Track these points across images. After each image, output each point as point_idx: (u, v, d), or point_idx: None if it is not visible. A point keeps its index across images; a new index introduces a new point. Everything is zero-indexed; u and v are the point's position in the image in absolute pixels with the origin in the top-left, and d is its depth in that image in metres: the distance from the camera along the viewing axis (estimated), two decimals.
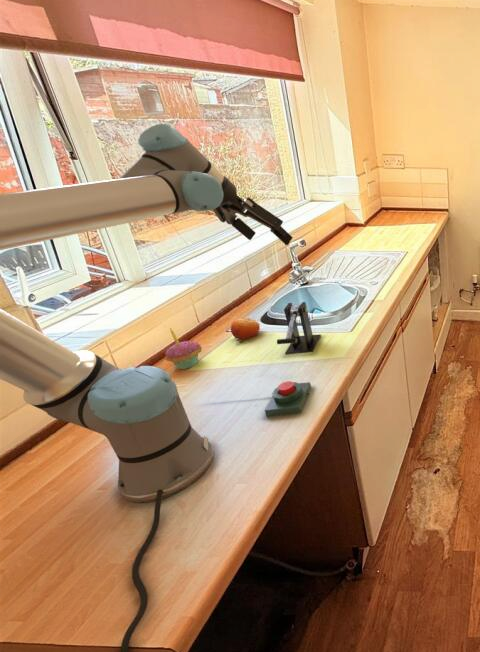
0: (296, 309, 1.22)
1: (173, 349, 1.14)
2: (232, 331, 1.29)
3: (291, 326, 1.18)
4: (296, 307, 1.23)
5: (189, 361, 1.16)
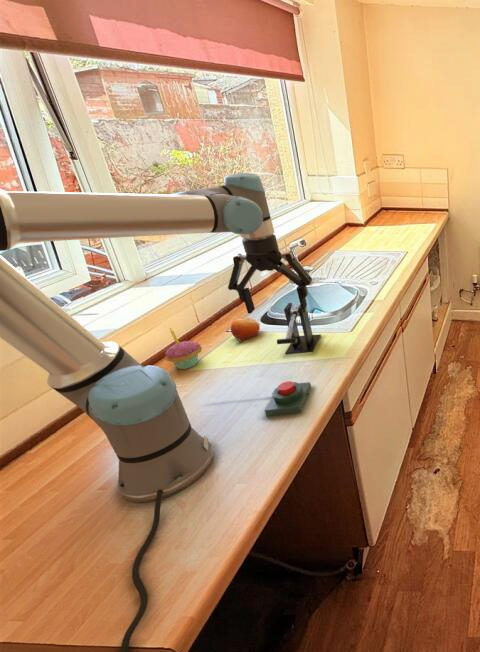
0: (296, 309, 1.22)
1: (173, 349, 1.14)
2: (232, 331, 1.29)
3: (291, 326, 1.18)
4: (296, 307, 1.23)
5: (189, 361, 1.16)
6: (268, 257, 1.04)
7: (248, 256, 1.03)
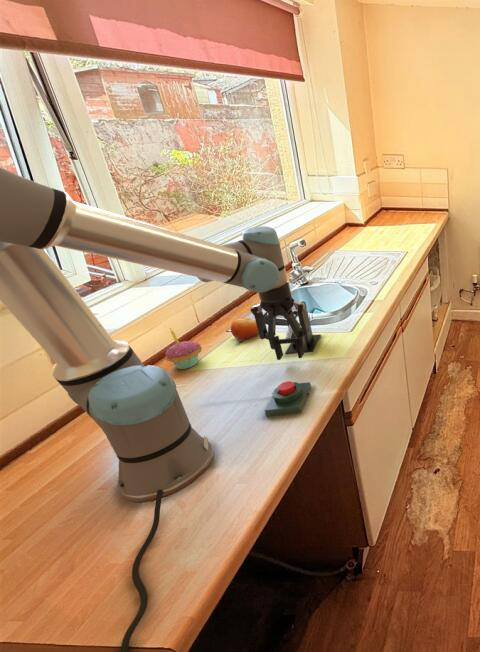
0: None
1: (173, 349, 1.14)
2: (232, 331, 1.29)
3: None
4: None
5: (189, 361, 1.16)
6: (281, 303, 1.09)
7: (262, 303, 1.08)
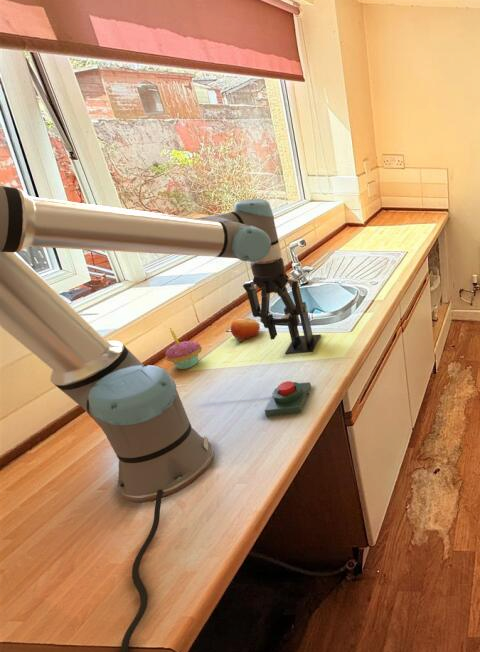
0: None
1: (173, 349, 1.14)
2: (232, 331, 1.29)
3: (288, 314, 1.17)
4: None
5: (189, 361, 1.16)
6: (275, 280, 1.06)
7: (256, 279, 1.05)
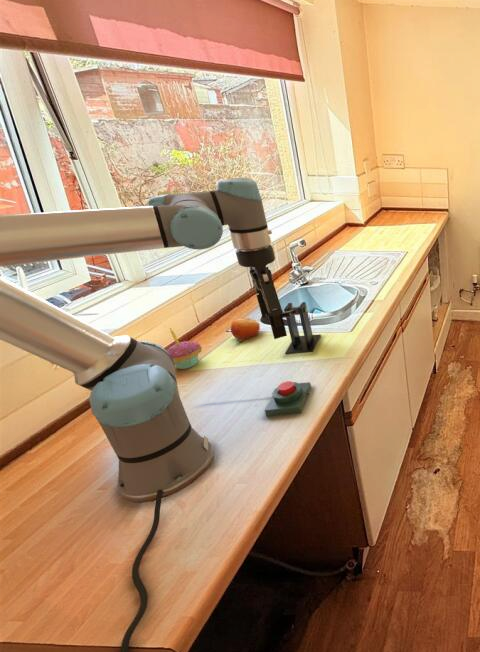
0: (297, 306, 1.23)
1: (173, 349, 1.14)
2: (232, 331, 1.29)
3: (288, 311, 1.17)
4: (297, 306, 1.24)
5: (189, 361, 1.16)
6: (255, 271, 0.94)
7: None
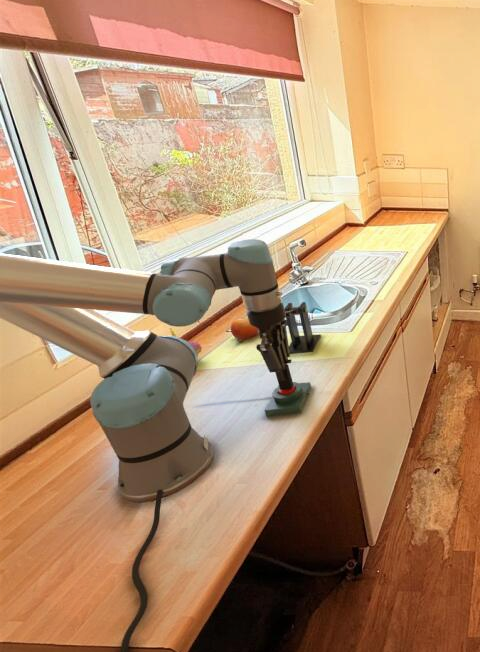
0: (297, 306, 1.23)
1: None
2: (232, 331, 1.29)
3: (288, 311, 1.17)
4: (297, 306, 1.24)
5: None
6: None
7: None
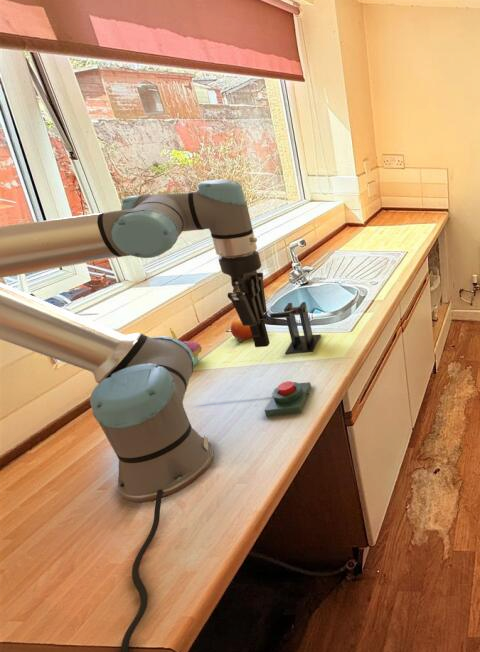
0: (297, 306, 1.23)
1: None
2: (232, 331, 1.29)
3: (288, 311, 1.17)
4: (297, 306, 1.24)
5: None
6: None
7: None
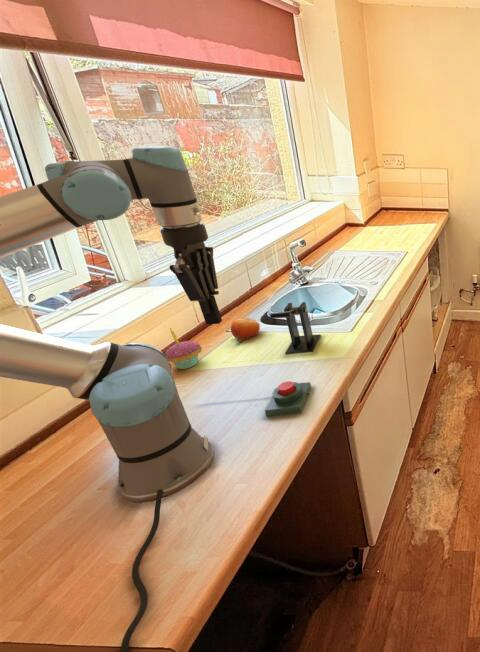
0: (297, 306, 1.23)
1: (173, 349, 1.14)
2: (232, 331, 1.29)
3: (288, 311, 1.17)
4: (297, 306, 1.24)
5: (189, 361, 1.16)
6: None
7: None
